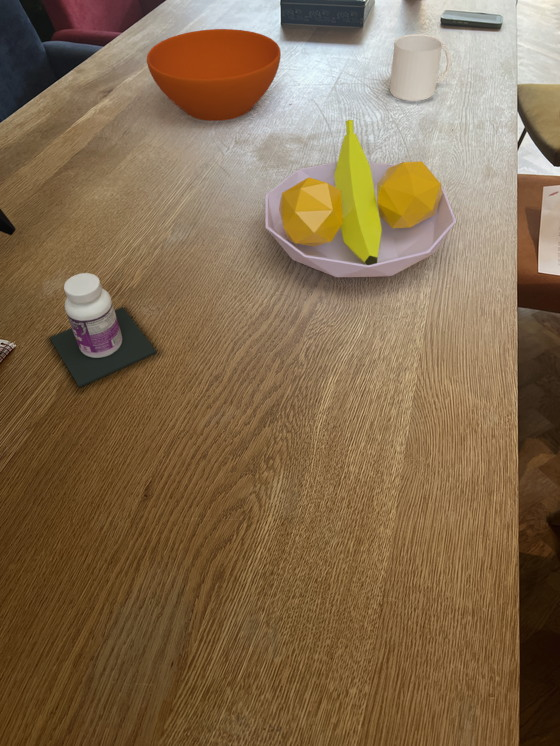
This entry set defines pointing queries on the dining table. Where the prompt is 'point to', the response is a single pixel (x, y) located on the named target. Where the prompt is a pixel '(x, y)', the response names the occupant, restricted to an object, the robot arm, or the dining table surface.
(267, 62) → the bowl
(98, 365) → the mat
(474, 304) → the dining table surface
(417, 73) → the mug
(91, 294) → the pill bottle
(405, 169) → the fruit bowl
